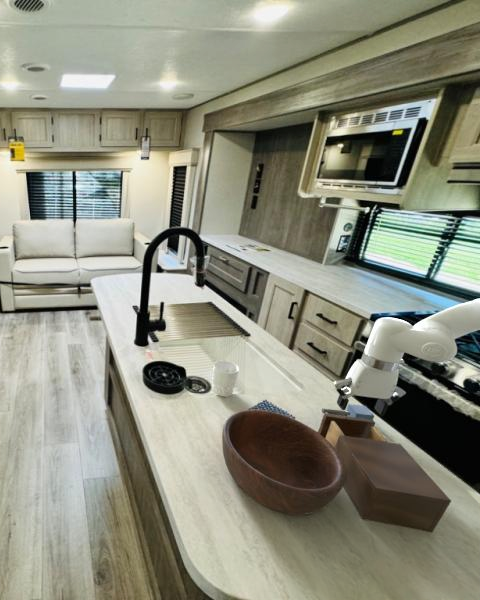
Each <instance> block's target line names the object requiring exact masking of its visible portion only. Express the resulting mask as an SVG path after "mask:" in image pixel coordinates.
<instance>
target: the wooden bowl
mask: <svg viewBox="0 0 480 600" xmlns="http://www.w3.org/2000/svg"><path fill="white" fill-rule="evenodd" d="M221 434H222V435H221V442H222V447H221V448H222V454H223V459H224V462H225V465H226V467H227V470H228V472H229V473H230V475H231V477H232V478H233V480H234V482H235V483H236V484H237V485H238V487H239V488H241V489H242V491H243V492H245V494H247V495H248V497H250V498H251V499H253V500H255V501H256V502H257V503H259V504H261V505H263V506H265V507H267V508H269V509H271V510H274V511H276V512H279V513H283V514H288V515H296V516H297V515H300V516H301V515H309V514H313V513H316V512H319V511H321V510H322V509H324V508H326V507H327V506H328V505H329V504H331V502H333V500H334V499H335V498H336V497H337V496H338V495H339V493H340V492H341V490H342V489H343V485H344V483H345V480H346V468H345V464H344V462H343V460H342V458H341V456H340V454H339V453H338V452H337V450H336V449H335V448H334V447H333V446H332V445H331V443H330V442H328V441H327V440H326V439H325V438H324V437H323V436H322V435H320V434H319V433H318V431H317V430H315V429H314V428H312V427H311V426H309V425H307V424H305V423H303V422H302V421H299V420H298V419H296V418H295V419H293V418H291V417H288V416H285V415H282V414H279V413H275V412H271V411H265V410H248V409H245V410H244V409H243V410H240V411H237V412H235V413H233V414H231V415H230V416H228V417H227V419H226V420H225V422H224V424H223V427H222V433H221Z"/></svg>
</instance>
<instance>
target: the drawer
mask: <svg viewBox="0 0 480 600" xmlns="http://www.w3.org/2000/svg"><path fill="white" fill-rule="evenodd" d="M321 413H322V414H323V416H322V419H321V422H320V425H319V428H318V431H317V432H318V433H319V434H320V435H322V436H323V437H324V438H325V439H326V440H327V441H328V442H330V443H331V445H332V446H333V447H334V448H335V446H336V443H337V440H338V438H339V435H343V436H350V437H357V438H364V439H371V440H378V441H385V442H389V441H388V440H387V438H386V437H385V436H384V435H383V434H382V433H381V431H379V429H378V428H377V427H376V426H375V425H376V421H374V419H373V420H370V419H363V418H355V417H351V416H350V412H348V411H346V410H340V409H339V410H337V409H331V408H324V407H322V408H321Z"/></svg>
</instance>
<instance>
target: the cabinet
mask: <svg viewBox="0 0 480 600" xmlns="http://www.w3.org/2000/svg"><path fill="white" fill-rule="evenodd" d="M335 449H336V450H337V452H338V453H339V454H340V456H341V458H342V460H343V462H344V464H345V468H346V480H345V483H344V485H343V487H342V489H344V491H345V493H346V495H347V496H348V498H349V500H350V501H351V503H352V505H353V506H354V509H355V510H356V511H357V513H358V515H359V517H360V518H361V519H362V520H365V521H372V522H375V523H381V524H386V525H391V526H397V527H402V528H407V529H411V530H417V531H422V532H427V533H433V532H434V531H435V529H436V527H437V526H438V523H439V522H440V520H441V519H442V517H443V515H444V514H445V512H446V511H447V510H448V508H449V506H450V504H451V502H452V500H451V499H450V497H449V496H448V495H447V494H446V493H445V492H444V491H443V490H442V489H441V488H440V486H439V485H438V484H437V483H436V482H435V481H434V480H433V478H432V477H431V476H430V475H429V474H428V473H427V472H426V471H425V470H424V469H423V468H422V466H421V465H420V464H419V463H418V462H417V461H416V460H415V458H414V457H413V456H412V455H411V454H410V453H409V452H408V451H407V450H406V448H405V447H404V446H403V445H402V444H401V443H397V442H391V441H388V442H385V441H378V440H371V439H364V438H357V437H350V436H343V435H339V438H338V440H337V443H336V446H335Z"/></svg>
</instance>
